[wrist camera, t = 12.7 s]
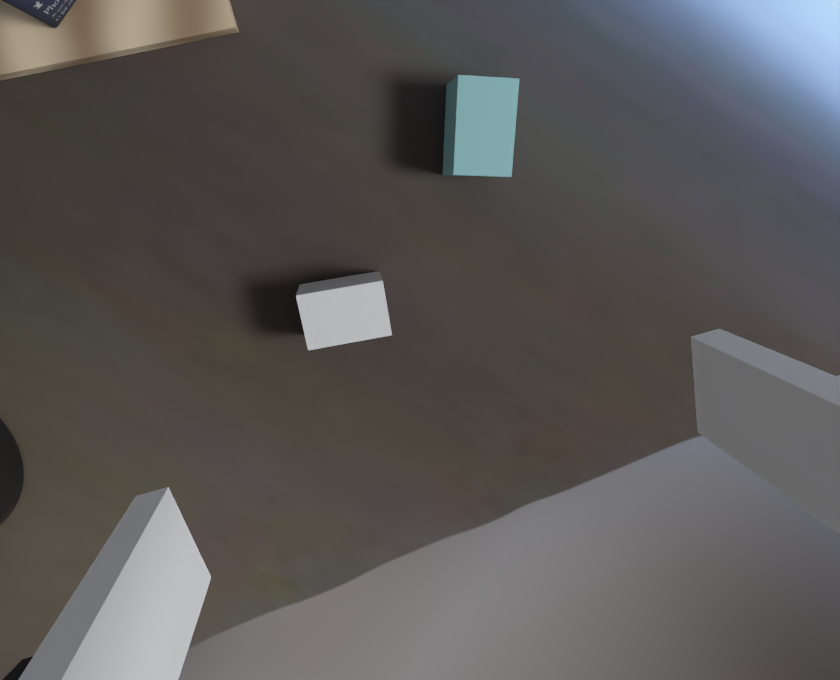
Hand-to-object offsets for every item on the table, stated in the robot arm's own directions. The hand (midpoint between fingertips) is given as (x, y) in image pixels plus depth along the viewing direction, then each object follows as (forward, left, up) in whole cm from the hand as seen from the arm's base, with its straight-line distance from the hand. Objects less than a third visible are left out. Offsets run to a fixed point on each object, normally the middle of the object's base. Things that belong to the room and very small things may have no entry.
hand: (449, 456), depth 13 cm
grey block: (-3, -2, -29) cm, 29 cm away
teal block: (+9, +8, -29) cm, 31 cm away
